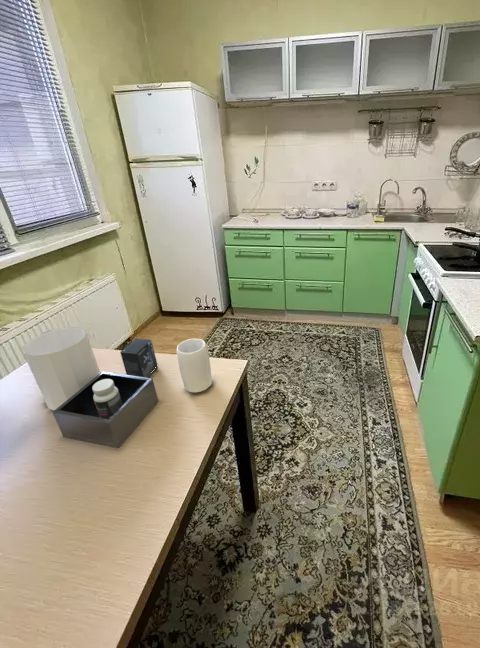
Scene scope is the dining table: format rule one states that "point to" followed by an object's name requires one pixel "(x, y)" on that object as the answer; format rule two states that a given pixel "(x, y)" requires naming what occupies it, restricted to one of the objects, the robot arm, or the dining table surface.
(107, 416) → the pill bottle
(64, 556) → the dining table surface
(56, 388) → the container
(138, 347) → the box
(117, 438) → the bin
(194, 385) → the cup
